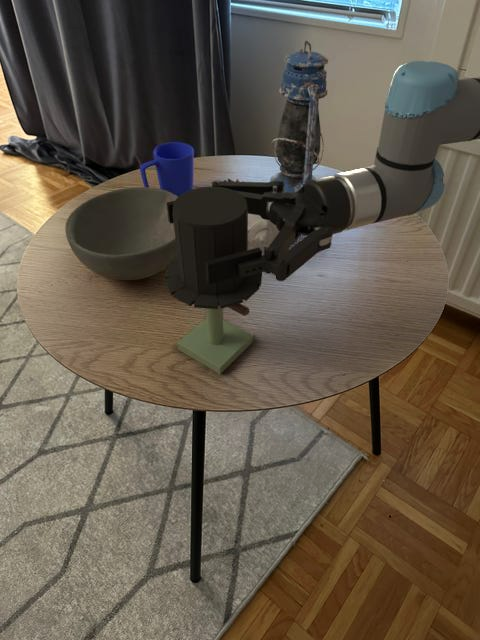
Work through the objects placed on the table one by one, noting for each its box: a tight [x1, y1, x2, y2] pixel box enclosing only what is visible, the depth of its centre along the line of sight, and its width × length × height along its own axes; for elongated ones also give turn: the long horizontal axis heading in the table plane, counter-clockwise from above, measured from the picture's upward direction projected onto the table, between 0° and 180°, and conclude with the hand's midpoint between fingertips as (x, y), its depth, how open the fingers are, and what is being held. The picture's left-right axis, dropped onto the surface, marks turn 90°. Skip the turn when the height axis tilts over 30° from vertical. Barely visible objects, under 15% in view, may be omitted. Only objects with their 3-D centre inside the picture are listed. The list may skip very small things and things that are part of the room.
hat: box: [163, 186, 264, 310], centre depth 60 cm, size 13×13×11 cm
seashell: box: [248, 202, 292, 255], centre depth 88 cm, size 12×14×10 cm
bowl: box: [64, 186, 178, 281], centre depth 83 cm, size 20×20×10 cm
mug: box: [139, 141, 195, 197], centre depth 100 cm, size 8×12×10 cm
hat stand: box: [177, 303, 254, 375], centre depth 65 cm, size 12×8×23 cm
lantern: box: [269, 40, 329, 192], centre depth 94 cm, size 15×12×30 cm
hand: (185, 240), depth 58 cm, fingers open, 13 cm apart
